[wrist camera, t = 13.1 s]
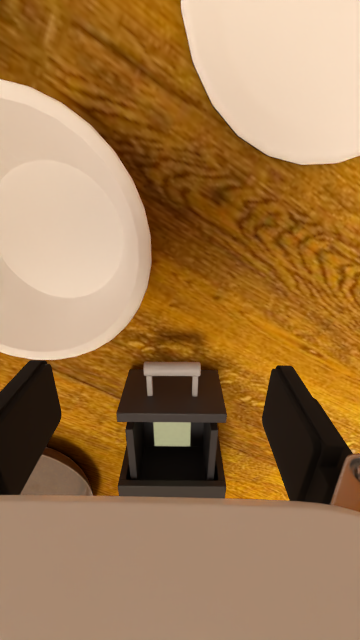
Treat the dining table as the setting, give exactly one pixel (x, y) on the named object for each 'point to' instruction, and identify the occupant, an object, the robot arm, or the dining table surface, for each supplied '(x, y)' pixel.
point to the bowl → (64, 231)
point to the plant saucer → (57, 477)
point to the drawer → (172, 419)
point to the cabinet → (173, 484)
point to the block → (172, 433)
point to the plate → (282, 73)
